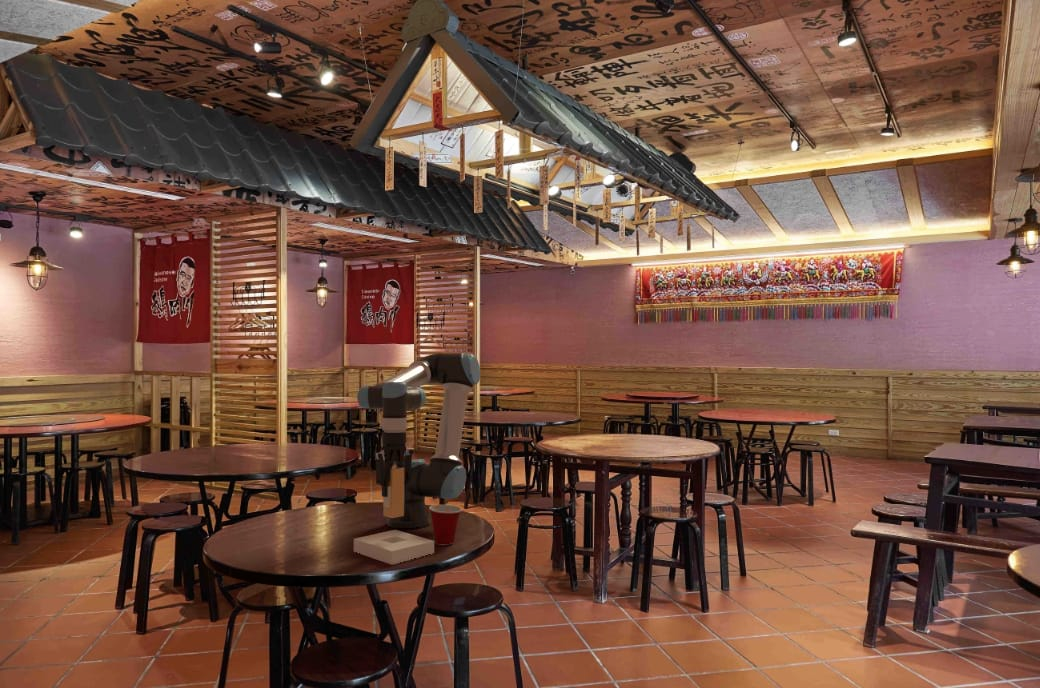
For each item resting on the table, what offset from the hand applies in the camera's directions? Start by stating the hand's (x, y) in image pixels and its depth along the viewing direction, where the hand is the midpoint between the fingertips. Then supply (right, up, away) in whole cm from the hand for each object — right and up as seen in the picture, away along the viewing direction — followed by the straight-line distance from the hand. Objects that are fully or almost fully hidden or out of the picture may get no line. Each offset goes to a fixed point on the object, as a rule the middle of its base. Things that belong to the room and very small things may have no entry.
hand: (393, 505), depth 222 cm
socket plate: (0, -15, 0) cm, 15 cm away
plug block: (0, -3, 0) cm, 3 cm away
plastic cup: (+15, -15, +11) cm, 24 cm away
